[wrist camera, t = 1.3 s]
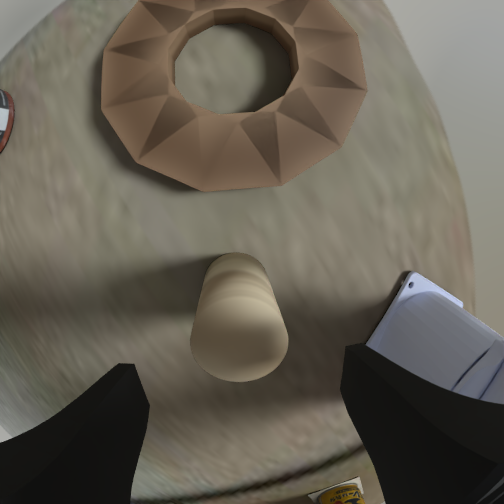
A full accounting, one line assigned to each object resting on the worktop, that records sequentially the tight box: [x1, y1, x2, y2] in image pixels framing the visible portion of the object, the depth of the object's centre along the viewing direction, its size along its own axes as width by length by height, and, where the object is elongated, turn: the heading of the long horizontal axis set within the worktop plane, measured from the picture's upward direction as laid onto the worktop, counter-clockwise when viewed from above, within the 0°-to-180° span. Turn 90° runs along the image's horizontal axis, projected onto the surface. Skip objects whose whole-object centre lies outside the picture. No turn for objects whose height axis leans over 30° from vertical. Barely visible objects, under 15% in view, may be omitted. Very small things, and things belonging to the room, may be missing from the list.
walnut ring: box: [101, 0, 367, 192], centre depth 13 cm, size 15×15×2 cm
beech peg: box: [190, 253, 288, 382], centre depth 14 cm, size 4×4×7 cm
